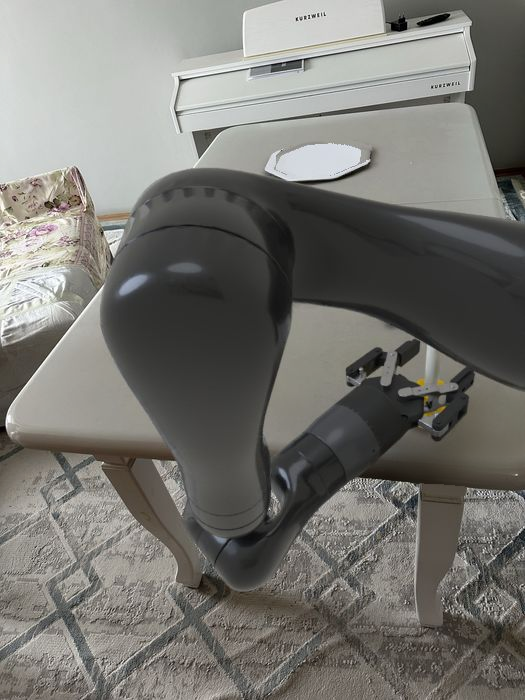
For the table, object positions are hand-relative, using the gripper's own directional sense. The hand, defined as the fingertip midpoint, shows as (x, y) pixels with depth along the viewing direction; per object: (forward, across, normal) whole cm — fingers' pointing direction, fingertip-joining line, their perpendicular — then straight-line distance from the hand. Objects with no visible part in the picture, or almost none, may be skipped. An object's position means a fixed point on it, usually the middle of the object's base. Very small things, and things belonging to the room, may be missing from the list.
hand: (443, 357), depth 64 cm
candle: (-2, 0, +9) cm, 9 cm away
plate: (+52, +75, +9) cm, 91 cm away
